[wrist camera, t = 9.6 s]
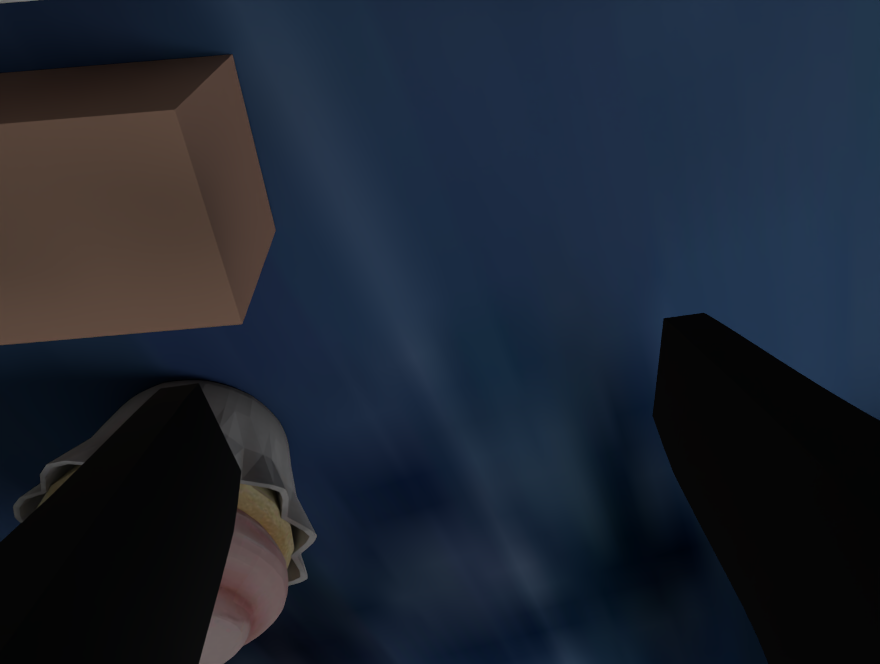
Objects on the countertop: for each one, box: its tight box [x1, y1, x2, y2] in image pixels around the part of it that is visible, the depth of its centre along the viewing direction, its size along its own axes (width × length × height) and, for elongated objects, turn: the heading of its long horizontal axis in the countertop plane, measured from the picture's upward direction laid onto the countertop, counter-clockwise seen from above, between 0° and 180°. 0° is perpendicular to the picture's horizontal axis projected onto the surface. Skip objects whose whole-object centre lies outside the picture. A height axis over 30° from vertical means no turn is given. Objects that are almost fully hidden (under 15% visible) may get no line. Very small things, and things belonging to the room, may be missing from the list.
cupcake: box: [13, 380, 317, 664], centre depth 19 cm, size 9×9×10 cm
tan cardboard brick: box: [0, 54, 276, 345], centre depth 15 cm, size 9×5×5 cm, turn 94°
